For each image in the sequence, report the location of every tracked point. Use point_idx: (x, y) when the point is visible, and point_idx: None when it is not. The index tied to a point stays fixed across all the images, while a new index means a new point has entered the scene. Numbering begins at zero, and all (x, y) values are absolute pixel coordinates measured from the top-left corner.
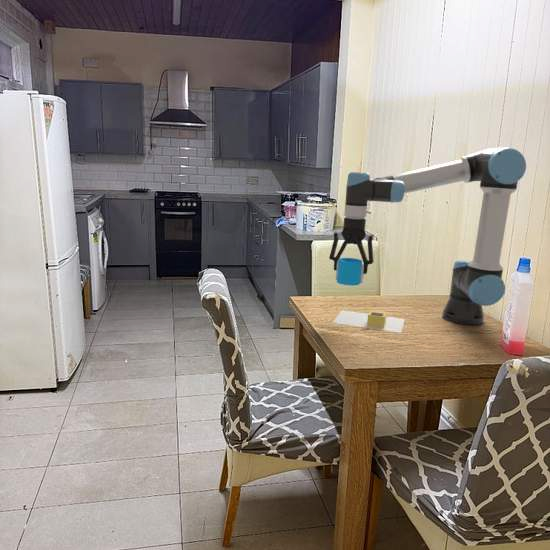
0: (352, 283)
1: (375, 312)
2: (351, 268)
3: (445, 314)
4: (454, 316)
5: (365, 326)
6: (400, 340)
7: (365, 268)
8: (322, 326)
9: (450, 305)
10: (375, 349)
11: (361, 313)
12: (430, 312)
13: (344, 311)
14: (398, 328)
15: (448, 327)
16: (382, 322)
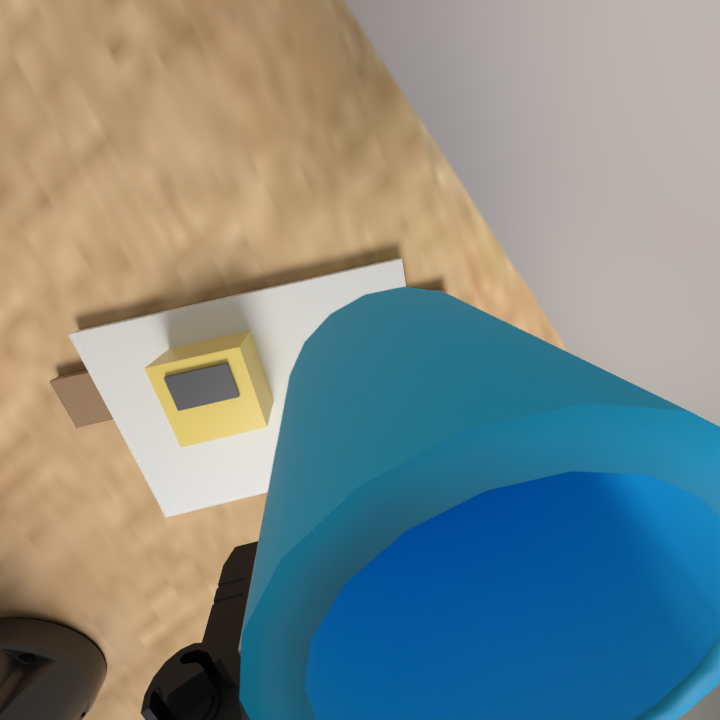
0: (324, 326)
1: (220, 400)
2: (373, 383)
3: (59, 649)
4: (3, 645)
5: (248, 311)
6: (43, 271)
7: (231, 617)
8: (433, 219)
9: (12, 703)
10: (49, 27)
11: None
12: (157, 656)
13: None
14: (115, 387)
15: (3, 560)
16: (168, 354)
